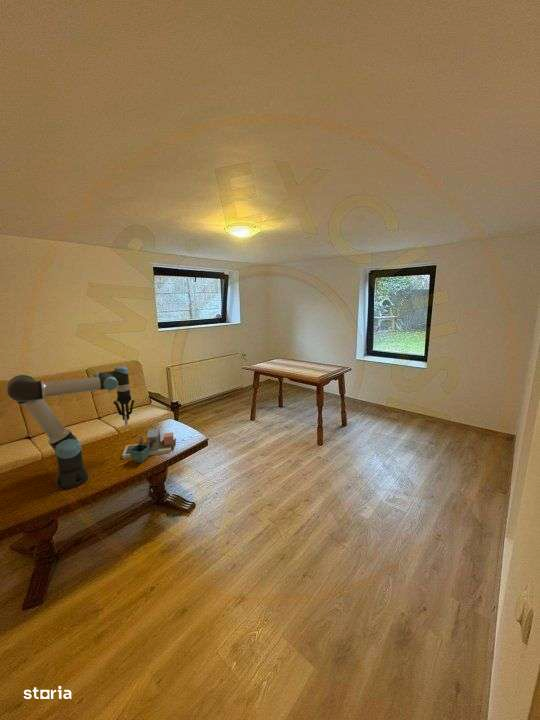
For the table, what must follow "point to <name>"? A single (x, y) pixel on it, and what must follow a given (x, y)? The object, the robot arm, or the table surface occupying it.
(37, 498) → the table surface
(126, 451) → the board
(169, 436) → the terracotta block
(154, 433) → the tunnel
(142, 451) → the flower pot
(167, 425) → the table surface
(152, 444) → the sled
